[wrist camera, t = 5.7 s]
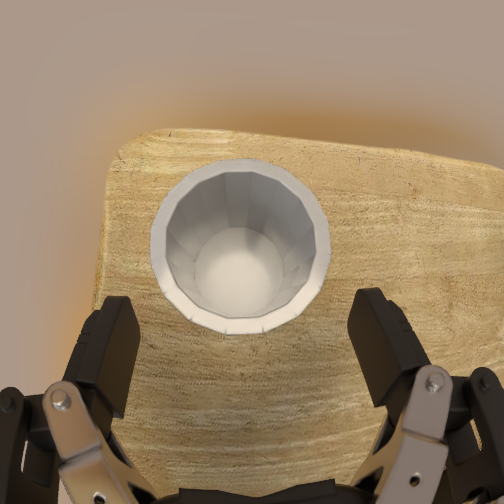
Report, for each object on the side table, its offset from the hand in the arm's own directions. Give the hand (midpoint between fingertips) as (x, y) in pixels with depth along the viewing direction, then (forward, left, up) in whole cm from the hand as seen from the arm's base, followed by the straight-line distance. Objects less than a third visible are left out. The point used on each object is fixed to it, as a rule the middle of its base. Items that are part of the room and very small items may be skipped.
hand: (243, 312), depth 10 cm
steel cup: (0, +2, -8) cm, 8 cm away
